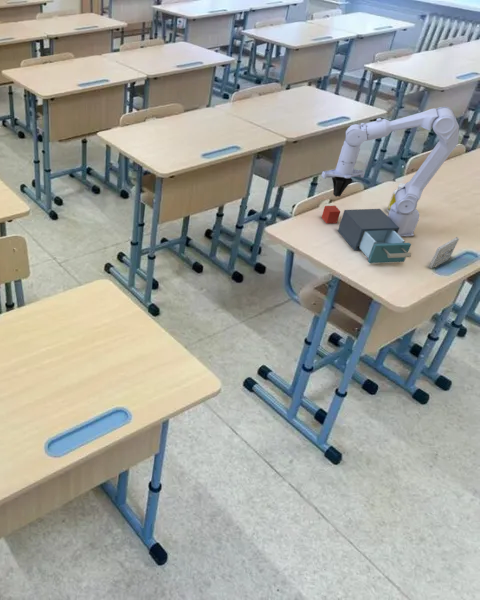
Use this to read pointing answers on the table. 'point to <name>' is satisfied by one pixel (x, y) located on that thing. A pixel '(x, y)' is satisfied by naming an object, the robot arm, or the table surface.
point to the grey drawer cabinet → (363, 224)
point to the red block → (330, 214)
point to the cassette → (443, 253)
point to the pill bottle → (394, 196)
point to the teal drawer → (384, 246)
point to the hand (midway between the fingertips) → (336, 195)
